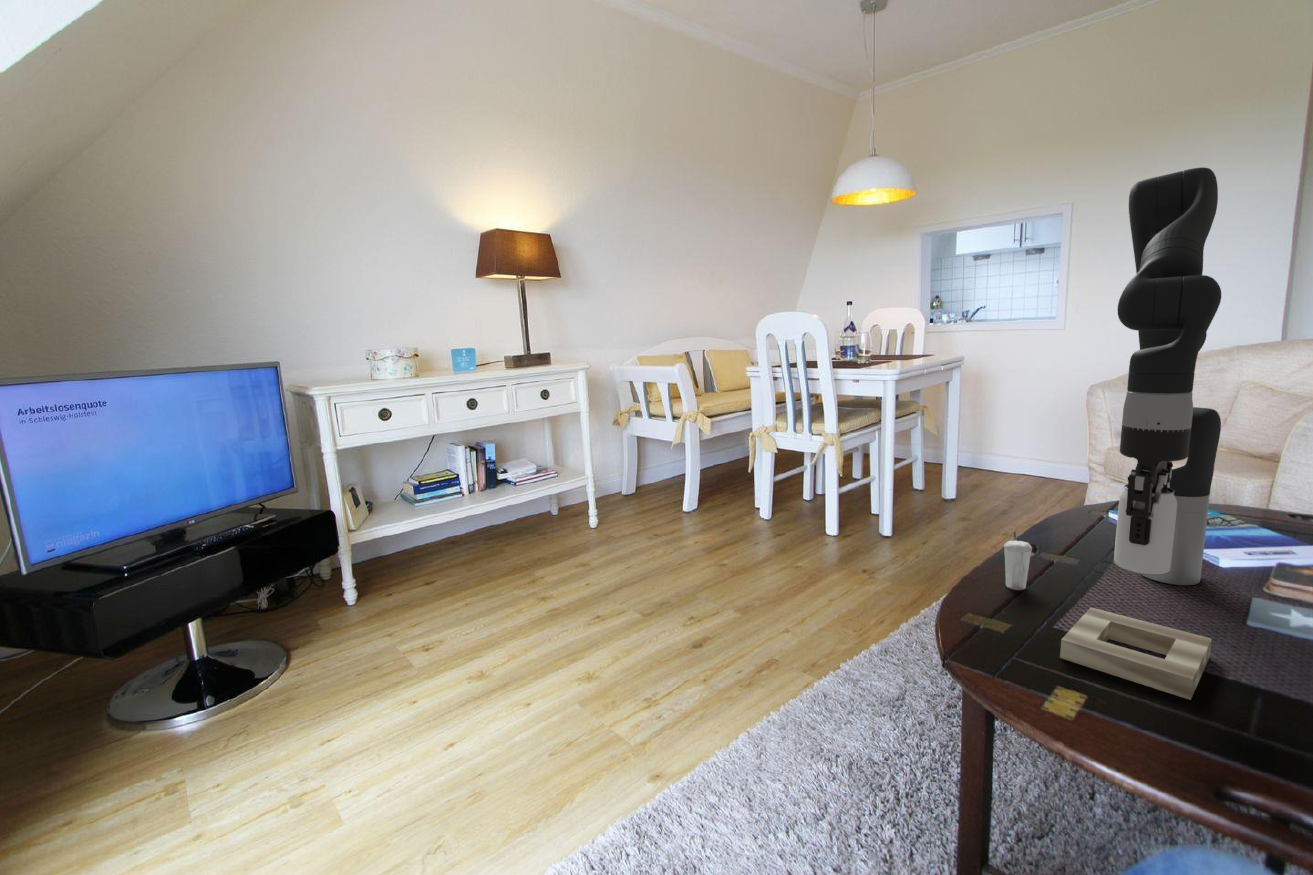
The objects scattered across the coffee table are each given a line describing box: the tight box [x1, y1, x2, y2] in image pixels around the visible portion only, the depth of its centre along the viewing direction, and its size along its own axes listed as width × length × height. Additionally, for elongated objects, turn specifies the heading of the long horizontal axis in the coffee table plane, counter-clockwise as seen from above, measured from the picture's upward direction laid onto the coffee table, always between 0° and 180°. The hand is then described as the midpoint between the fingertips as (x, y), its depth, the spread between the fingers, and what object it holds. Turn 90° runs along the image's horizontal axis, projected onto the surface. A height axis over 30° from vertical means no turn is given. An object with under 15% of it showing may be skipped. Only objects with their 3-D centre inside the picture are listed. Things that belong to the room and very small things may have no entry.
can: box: [1113, 483, 1177, 576], centre depth 87 cm, size 6×6×12 cm
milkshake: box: [1003, 531, 1033, 591], centre depth 116 cm, size 4×5×10 cm
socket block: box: [1059, 607, 1213, 701], centre depth 90 cm, size 15×15×3 cm
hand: (1144, 537), depth 87 cm, fingers closed on can, 6 cm apart
